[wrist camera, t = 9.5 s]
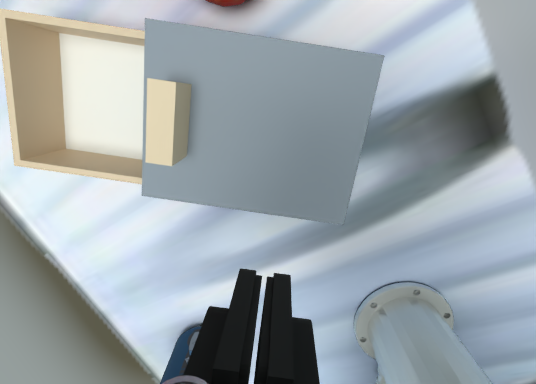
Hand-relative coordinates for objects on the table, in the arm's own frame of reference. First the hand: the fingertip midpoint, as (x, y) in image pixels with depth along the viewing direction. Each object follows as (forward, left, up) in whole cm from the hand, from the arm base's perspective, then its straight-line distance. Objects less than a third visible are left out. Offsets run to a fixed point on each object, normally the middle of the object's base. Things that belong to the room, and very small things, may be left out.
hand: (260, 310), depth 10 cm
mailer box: (+4, +15, -26) cm, 30 cm away
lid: (+4, +2, -19) cm, 20 cm away
